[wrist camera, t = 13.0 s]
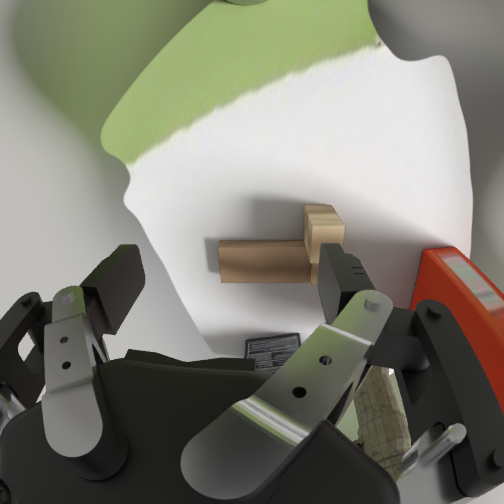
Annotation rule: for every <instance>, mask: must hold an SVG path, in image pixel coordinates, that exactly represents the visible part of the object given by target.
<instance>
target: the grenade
mask: <svg viewBox="0 0 504 504" xmlns="http://www.w3.org/2000/svg"><path fill="white" fill-rule="evenodd" d="M353 399H354V404H355V408H356V413H357V418H358V423H359V429H358V438H359V439H358V440H355V441H353V443H354V444H356V445H357V446H358V447H359V448H360V449H361V450H363V451H364V452H365V453H366V454H367V455H368V456H370V457H371V458H372V459H373V460H374V461H376V462H377V463H378V464H379V465H380V466H382V467H383V468H384V469H385V470H386V471H388V472H389V474H390V475H391V476H392V477H393V479H394V480H395V482H397V480H398V479H399V477H400V474H401V462H402V458H403V456H404V454H405V452H406V451H407V450H408V449H409V448H410V447H411V446H412V440H411V435H410V431H409V426H407V424H406V421H405V417H404V415H403V414H402V413H401V412H400V410H399V407H398V403H397V400H396V397H395V394H394V391H393V388H392V385H391V382H390V379H389V368H385V367H378V366H372V368H371V369H370V371H369V373H368V375H367V376H366V378H365V380H364V382H363V383H362V385H361V387H360V388H359V390H358V392H357V393H356V395H355V396H354V398H353Z"/></svg>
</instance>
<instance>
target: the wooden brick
mask: <svg viewBox="0 0 504 504" xmlns="http://www.w3.org/2000/svg"><path fill="white" fill-rule="evenodd" d="M344 233H345V225H344V223H343V222H342V220H341V219H340V217H339V216H338V214H337V213H336V211H335V210H334V208H333V207H332V205H304V232H303V238H304V241H305V245H306V249H307V252H308V256H309V260H310V263H312V269H311V285H318V283H317V278H318V267H319V256H320V246H321V243H340V245H341V247H342V249H343V242H344Z"/></svg>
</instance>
